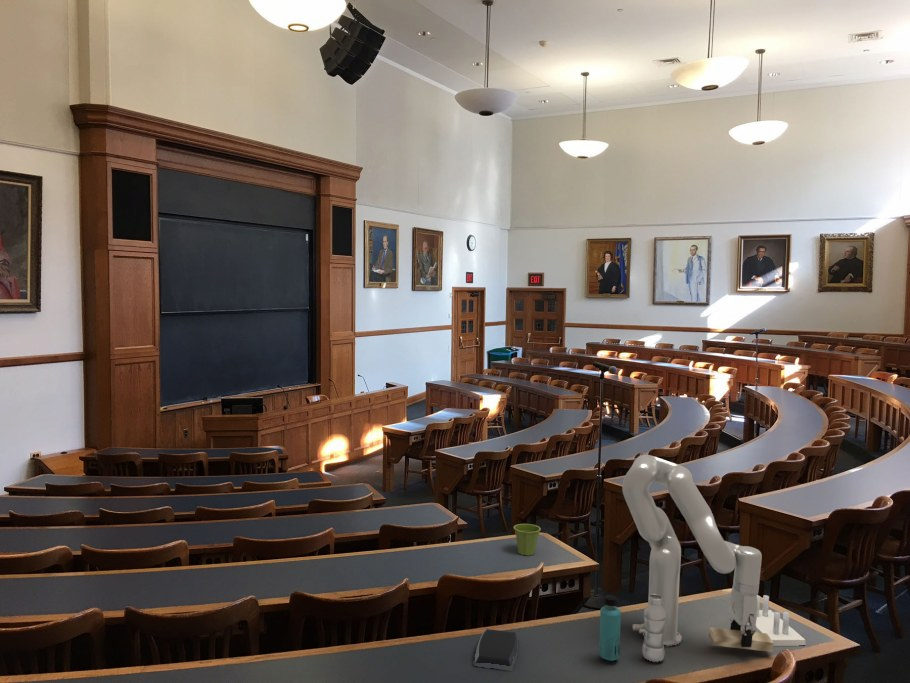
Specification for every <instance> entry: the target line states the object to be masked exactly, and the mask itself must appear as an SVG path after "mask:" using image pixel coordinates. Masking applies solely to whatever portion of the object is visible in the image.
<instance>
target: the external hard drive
mask: <svg viewBox="0 0 910 683" xmlns="http://www.w3.org/2000/svg"><path fill="white" fill-rule="evenodd" d="M517 638H518V635H517V634H516V632H515V631H506V630H497V629H492V628H491V629H490V628H485V629H484V631H483V632H482V634H481V635H480V638H479V640H478V641H477V645H476V649H475V652H476V653H475V654H474V657H475V662H476V663H491V664H499V665H506V666H511V665H512V661H513V660H514V659H515V656H516V653H517V643H518V642H519V641H518V642H517Z"/></svg>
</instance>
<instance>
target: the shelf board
mask: <svg viewBox="0 0 910 683" xmlns="http://www.w3.org/2000/svg"><path fill="white" fill-rule="evenodd" d="M742 634H743V630H741V631H740V630H731V629H730V628H721V627H720V628H719V627H711V626H709V630H708V638H709V639H710V641H711V643H712V645H713V646H718V647H725V648H735V649H744V650H750V651H751V650H753V651H761V652H771V653H773V652H774V646H773V644H774V643H773V641H772V640H771V638H770V637H769V636H768V634H767V633H758V632H755V633H754V635H753V636H752V645H751V647H742V646H741V638H742Z"/></svg>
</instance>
